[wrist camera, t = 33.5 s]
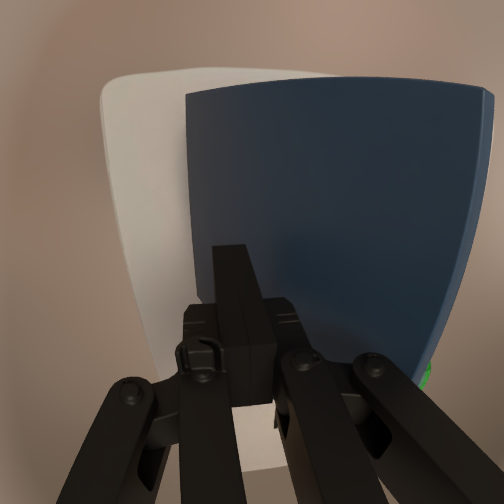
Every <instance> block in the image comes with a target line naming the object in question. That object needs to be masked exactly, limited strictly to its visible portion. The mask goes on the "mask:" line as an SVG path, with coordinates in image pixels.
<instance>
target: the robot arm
mask: <svg viewBox="0 0 504 504" xmlns="http://www.w3.org/2000/svg"><path fill="white" fill-rule="evenodd" d="M212 260H213V278H214V295H215V303H207V304H191V305H189V306H188V308H187V309H186V311H185V312H184V318H183V341H182V342H181V343H180V344H179V345H178V346H177V347H176V350H175V357H176V362H177V367H178V372H177V373H176V374H175V375H173V376H172V377H170V378H169V379H166V380H164V381H160V382H157V383H153V384H151V383H150V382H148V381H147V380H146V379H143V378H140V377H127V378H123V379H121V380H119V381H117V382H116V383H114V385H113V386H112V387H111V388H110V390H109V392H108V394H107V396H106V398H105V400H104V402H103V404H102V406H101V408H100V410H99V412H98V414H97V416H96V418H95V420H94V422H93V424H92V426H91V428H90V430H89V432H88V434H87V436H86V438H85V440H84V442H83V444H82V446H81V449H80V451H79V453H78V455H77V457H76V459H75V461H74V464H73V466H72V468H71V470H70V472H69V475H68V477H67V479H66V482H65V484H64V486H63V488H62V490H61V493H60V495H59V498H58V500H57V502H56V504H155V500H156V497H157V493H158V490H159V486H160V483H161V479H162V475H163V472H164V469H165V465H166V462H167V459H168V455H169V452H170V448H171V445H173V444H177V443H179V466H180V490H181V504H247V501H246V495H245V490H244V484H243V478H242V472H241V466H240V460H239V454H238V448H237V441H236V435H235V428H234V422H233V415H232V407H242V406H252V405H261V404H269V403H272V402H273V396H274V400H275V404H276V410H275V419H274V429H276V428H277V427H278V429H279V432H280V436H281V440H282V444H283V448H284V452H285V456H286V460H287V463H288V467H289V471H290V475H291V479H292V482H293V486H294V490H295V494H296V497H297V501H298V504H389V503H388V501H387V498H386V496H385V494H384V491H383V489H382V486H381V484H380V482H379V479H380V480H381V481H382V483H383V484H384V485H385V486H386V488H387V489H388V490H389V491H390V493H391V494H392V495H393V496H394V498H395V499H396V500H397V501H398V503H399V504H504V472H503V471H502V470H501V469H500V468H499V467H498V466H497V465H496V464H495V463H494V462H493V461H492V460H491V459H490V458H489V457H488V456H487V455H486V454H485V453H484V452H483V451H482V450H481V449H480V448H479V447H478V446H477V445H476V444H475V443H474V442H473V441H472V440H471V439H470V438H469V437H468V436H467V435H466V434H465V433H464V432H463V431H462V430H461V429H460V428H459V427H458V426H457V425H456V424H455V423H454V422H453V421H452V420H451V419H450V418H449V417H448V416H447V415H446V414H445V413H444V412H443V411H442V410H441V409H440V408H439V407H438V406H437V405H436V404H435V403H434V402H433V401H432V400H431V399H430V398H429V397H428V396H427V395H426V394H425V393H424V392H423V391H422V390H421V389H420V388H419V387H418V386H417V385H416V384H415V383H414V382H413V381H412V380H411V379H410V378H409V377H408V376H407V375H405V374H404V373H403V372H402V371H401V370H400V369H399V368H398V367H397V366H396V365H395V364H394V363H393V362H392V361H391V360H390V359H389V358H387V357H386V356H384V355H382V354H379V353H375V352H367V353H362V354H360V355H358V356H357V357H356V358H355V359H354V361H353V363H338V362H332V361H328V360H325V358H324V357H323V356H322V354H321V353H319V352H318V351H316V350H314V349H313V348H312V346H311V344H310V342H309V340H308V337H307V335H306V333H305V331H304V328H303V326H302V324H301V322H300V319H299V317H298V315H297V313H296V310H295V308H294V306H293V304H292V303H291V302H290V301H288V300H287V299H286V298H285V297H276V298H264V299H263V297H262V294H261V291H260V288H259V285H258V282H257V279H256V275H255V272H254V269H253V266H252V263H251V260H250V257H249V253H248V250H247V247H246V244H238V245H220V246H212ZM377 476H378V477H377ZM378 478H379V479H378Z"/></svg>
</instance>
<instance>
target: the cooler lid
mask: <svg viewBox="0 0 504 504" xmlns="http://www.w3.org/2000/svg"><path fill="white" fill-rule="evenodd" d="M493 118H494V95H493V94H492V93H491V92H489V91H488V90H486V89H485V88H483V87H478V86H472V85H465V84H458V83H451V82H443V81H433V80H422V79H410V78H392V77H320V78H302V79H288V80H277V81H267V82H258V83H250V84H243V85H235V86H229V87H222V88H216V89H210V90H205V91H199V92H194V93H189V94H186V137H187V162H188V182H189V200H190V215H191V229H192V242H193V254H194V266H195V277H196V287H197V296H198V297H199V299H200V300H201V302H202V303H203V304H207V303H215V295H214V278H213V260H212V246H220V245H238V244H246V247H247V250H248V253H249V257H250V260H251V263H252V266H253V269H254V272H255V275H256V279H257V282H258V285H259V288H260V291H261V294H262V297H263V299H264V298H276V297H285V298H286V299H287V300H288V301H290V302H291V303H292V304H293V306H294V308H295V310H296V313H297V315H298V317H299V319H300V322H301V324H302V326H303V328H304V331H305V333H306V335H307V337H308V340H309V342H310V344H311V346H312V348H313V349H314V350H316V351H318V352H319V353H321V354H322V356H323V357H324V358H325V360H328V361H332V362H338V363H353V361H354V359H355V358H356V357H357V356H358V355H360V354H362V353H367V352H375V353H379V354H382V355H384V356H386V357H387V358H389V359H390V360H391V361H392V362H393V363H394V364H395V365H396V366H397V367H398V368H399V369H400V370H401V371H402V372H403V373H404V374H405V375H407V376H408V377H409V378H410V379H411V380H412V381H413V382H414V383H415V384H416V385H417V386H418V385H419V383H420V381H421V379H422V377H423V375H424V373H425V370H426V368H427V366H428V364H429V362H430V360H431V358H432V355H433V353H434V351H435V349H436V347H437V344H438V342H439V340H440V337H441V335H442V333H443V330H444V328H445V325H446V323H447V320H448V317H449V315H450V312H451V310H452V307H453V304H454V301H455V299H456V295H457V293H458V290H459V287H460V284H461V281H462V278H463V275H464V272H465V268H466V265H467V262H468V258H469V255H470V251H471V248H472V244H473V240H474V236H475V232H476V228H477V224H478V220H479V215H480V211H481V206H482V201H483V196H484V190H485V185H486V179H487V173H488V166H489V159H490V151H491V142H492V131H493ZM273 399H274V396H273Z"/></svg>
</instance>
